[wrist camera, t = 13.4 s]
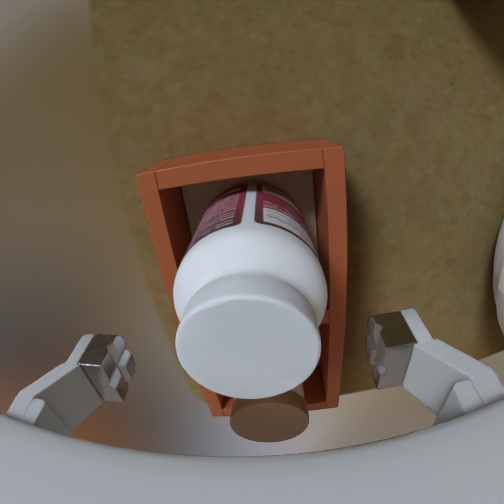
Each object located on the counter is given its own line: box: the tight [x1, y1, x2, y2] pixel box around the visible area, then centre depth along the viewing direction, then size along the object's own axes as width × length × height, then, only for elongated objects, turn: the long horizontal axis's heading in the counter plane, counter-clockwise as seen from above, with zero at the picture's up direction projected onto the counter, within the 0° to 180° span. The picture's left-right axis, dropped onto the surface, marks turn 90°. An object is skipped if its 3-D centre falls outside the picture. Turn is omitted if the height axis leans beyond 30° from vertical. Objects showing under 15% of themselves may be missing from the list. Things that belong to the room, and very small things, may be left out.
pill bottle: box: [173, 181, 328, 399], centre depth 14 cm, size 6×6×11 cm
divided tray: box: [137, 139, 347, 416], centre depth 20 cm, size 10×19×5 cm, turn 8°
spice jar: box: [230, 382, 309, 442], centre depth 19 cm, size 5×5×8 cm
